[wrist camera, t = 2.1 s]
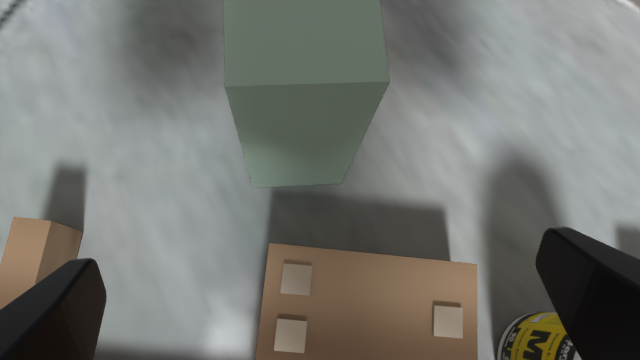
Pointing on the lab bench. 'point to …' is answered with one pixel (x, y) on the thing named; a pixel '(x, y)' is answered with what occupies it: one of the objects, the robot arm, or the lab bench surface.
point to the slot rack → (311, 298)
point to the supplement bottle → (537, 339)
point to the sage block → (303, 84)
